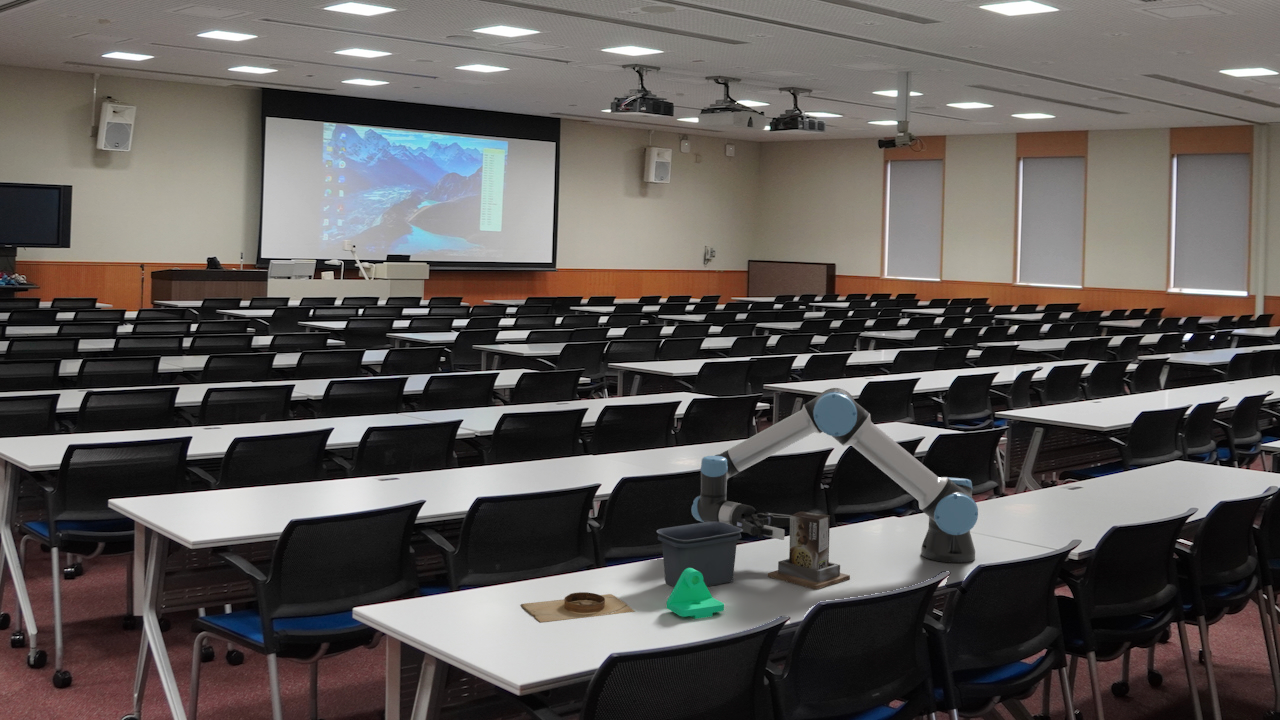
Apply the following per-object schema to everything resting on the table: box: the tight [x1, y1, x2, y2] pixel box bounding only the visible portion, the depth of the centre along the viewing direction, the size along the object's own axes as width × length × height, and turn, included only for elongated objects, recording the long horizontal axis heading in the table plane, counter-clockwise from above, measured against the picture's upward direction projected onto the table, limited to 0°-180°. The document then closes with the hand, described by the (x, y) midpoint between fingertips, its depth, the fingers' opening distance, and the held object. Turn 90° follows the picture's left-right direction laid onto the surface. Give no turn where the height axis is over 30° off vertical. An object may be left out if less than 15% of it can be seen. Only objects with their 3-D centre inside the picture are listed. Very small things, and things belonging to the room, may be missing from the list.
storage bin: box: [656, 522, 743, 588], centre depth 304 cm, size 21×16×14 cm
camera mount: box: [666, 568, 725, 620], centre depth 278 cm, size 12×8×10 cm, turn 117°
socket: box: [767, 558, 851, 590], centre depth 310 cm, size 15×16×4 cm
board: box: [519, 591, 636, 624], centre depth 280 cm, size 25×15×3 cm, turn 115°
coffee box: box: [788, 510, 831, 570], centre depth 310 cm, size 9×6×16 cm
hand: (799, 530), depth 311 cm, fingers open, 13 cm apart
